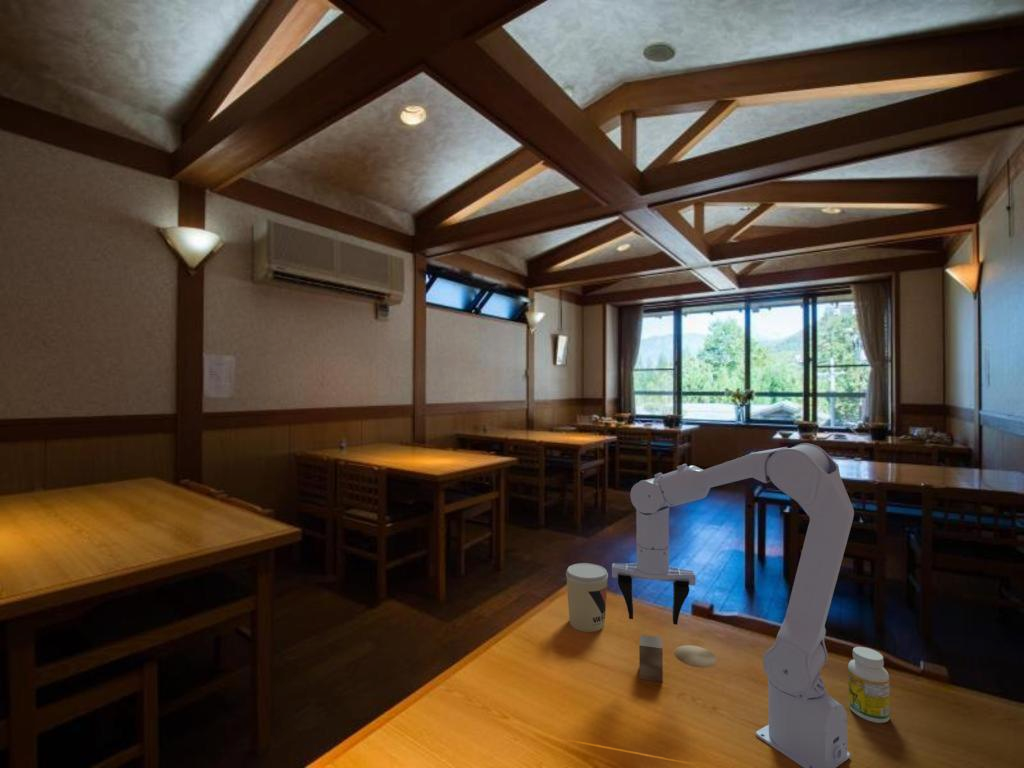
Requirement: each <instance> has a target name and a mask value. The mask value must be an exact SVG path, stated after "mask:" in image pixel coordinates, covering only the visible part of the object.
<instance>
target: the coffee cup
mask: <svg viewBox="0 0 1024 768" xmlns="http://www.w3.org/2000/svg"><path fill="white" fill-rule="evenodd" d="M565 571H566V572H565V576H566V591H567V602H568V603H567V604H568V615H569V617H568V618H569V624H570V626H571V627H572V628H573V627H574V629H575V630H577V629H578V631H579V632H587V633H592V632H593V631H594V632H597V631H598V630H599V631H600V629H601V630H603V628H605V623H606V610H607V607H606V606H607V595H608V579H609V574H608V573H609V572H608V571H607V569H606V568H605V567H603V566H601V565H599V564H594V563H588V562H582V563H575V564H571V565H569V566H568V567H567V569H566V570H565Z"/></svg>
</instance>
